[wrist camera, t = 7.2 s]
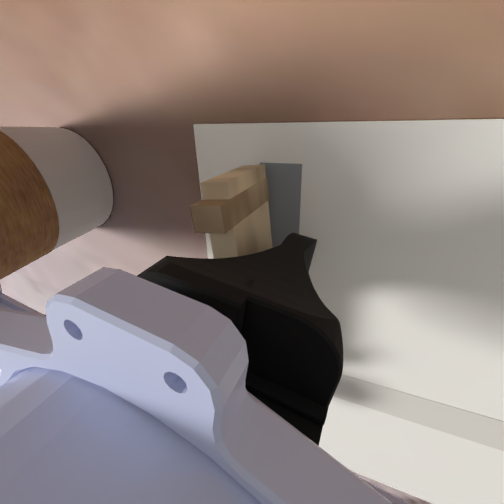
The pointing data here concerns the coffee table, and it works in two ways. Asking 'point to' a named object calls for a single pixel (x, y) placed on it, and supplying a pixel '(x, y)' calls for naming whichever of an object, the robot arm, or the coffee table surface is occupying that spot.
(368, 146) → the card
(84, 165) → the coffee cup
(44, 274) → the coffee table surface
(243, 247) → the fence panel
